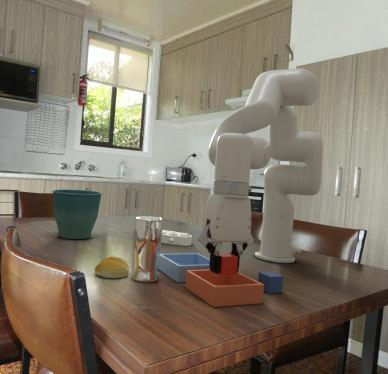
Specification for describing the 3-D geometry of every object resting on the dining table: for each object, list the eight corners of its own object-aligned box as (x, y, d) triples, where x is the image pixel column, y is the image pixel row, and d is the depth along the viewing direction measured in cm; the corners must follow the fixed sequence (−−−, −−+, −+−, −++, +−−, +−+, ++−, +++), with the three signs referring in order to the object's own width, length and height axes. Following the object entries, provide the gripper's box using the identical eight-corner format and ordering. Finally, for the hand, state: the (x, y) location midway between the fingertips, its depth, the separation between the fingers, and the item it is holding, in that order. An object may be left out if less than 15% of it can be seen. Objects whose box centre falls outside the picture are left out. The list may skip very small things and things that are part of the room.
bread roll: (91, 277, 89) (92, 260, 89) (101, 267, 98) (102, 253, 98) (124, 281, 88) (125, 264, 88) (131, 271, 97) (132, 256, 96)
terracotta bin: (229, 285, 90) (230, 268, 90) (262, 303, 79) (264, 284, 79) (184, 287, 86) (186, 270, 86) (213, 307, 75) (215, 287, 75)
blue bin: (196, 267, 105) (197, 253, 105) (220, 280, 94) (221, 264, 94) (157, 268, 101) (158, 253, 101) (177, 282, 90) (178, 265, 89)
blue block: (270, 287, 91) (271, 271, 91) (282, 292, 87) (283, 276, 87) (257, 288, 90) (258, 271, 90) (268, 293, 86) (269, 276, 86)
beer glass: (150, 285, 86) (154, 221, 85) (125, 278, 90) (129, 217, 89) (164, 278, 92) (168, 218, 91) (140, 272, 96) (144, 215, 95)
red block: (226, 269, 85) (227, 252, 85) (236, 274, 81) (238, 256, 81) (211, 270, 83) (212, 252, 83) (221, 275, 80) (222, 256, 79)
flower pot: (75, 244, 125) (79, 194, 125) (39, 235, 135) (41, 189, 134) (108, 237, 141) (111, 193, 140) (73, 230, 150) (76, 189, 150)
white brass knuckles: (197, 241, 145) (186, 248, 132) (155, 235, 152) (140, 240, 139) (198, 233, 145) (187, 238, 132) (155, 227, 152) (141, 231, 139)
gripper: (251, 190, 88) (244, 266, 89) (188, 186, 82) (182, 268, 83) (272, 193, 81) (265, 275, 82) (206, 189, 75) (199, 278, 76)
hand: (223, 271), depth 82 cm, fingers closed on red block, 4 cm apart
